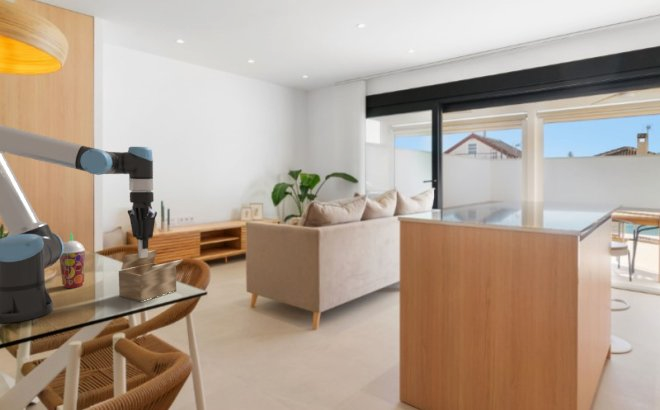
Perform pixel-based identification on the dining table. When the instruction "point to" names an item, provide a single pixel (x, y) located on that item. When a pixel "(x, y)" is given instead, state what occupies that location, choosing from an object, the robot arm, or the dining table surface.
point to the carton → (146, 282)
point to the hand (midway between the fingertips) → (143, 257)
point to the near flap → (163, 267)
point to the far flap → (138, 260)
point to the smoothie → (72, 264)
